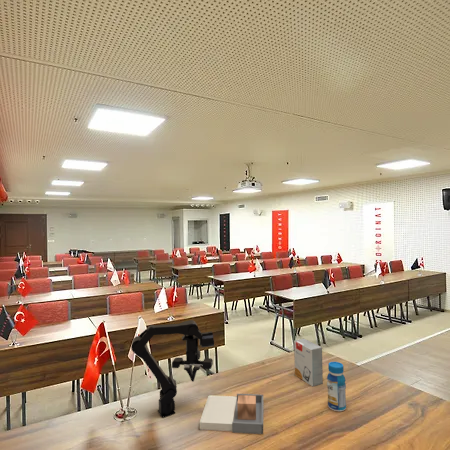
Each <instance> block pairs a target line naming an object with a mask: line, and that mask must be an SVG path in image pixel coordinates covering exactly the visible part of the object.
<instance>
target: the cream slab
mask: <svg viewBox="0 0 450 450" xmlns="http://www.w3.org/2000/svg"><path fill="white" fill-rule="evenodd" d="M236 405H237V395H236V396H233V395H231V396H230V395H211V394H210V395H208V396H207V399H206V401H205V405H204V408H203V411H202V414H201V417H200V420H199V430H201V431H202V430H203V431H205V430H206V431H219V432H221V431H224V432H232V422H234V418H235V411H236Z"/></svg>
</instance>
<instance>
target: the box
mask: <svg viewBox="0 0 450 450" xmlns="http://www.w3.org/2000/svg"><path fill="white" fill-rule="evenodd" d="M238 395H250V396H256V420H244V419H238V407H237V405H236V411H235V418H234V422H232V431H231V432H232V433H237V434H254V435H256V434H257V435H264V407H265V406H264V394H257V393H255V394H253V393H236V397H237V403H238Z"/></svg>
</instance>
